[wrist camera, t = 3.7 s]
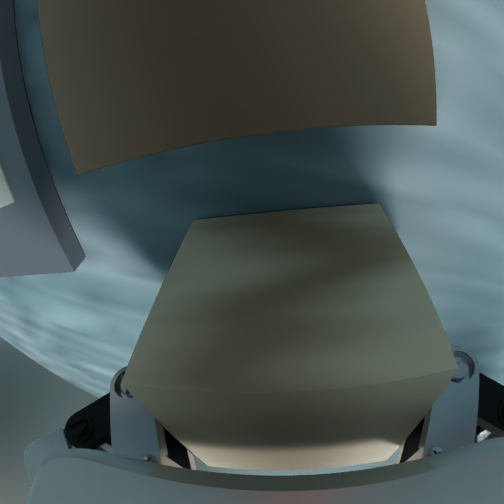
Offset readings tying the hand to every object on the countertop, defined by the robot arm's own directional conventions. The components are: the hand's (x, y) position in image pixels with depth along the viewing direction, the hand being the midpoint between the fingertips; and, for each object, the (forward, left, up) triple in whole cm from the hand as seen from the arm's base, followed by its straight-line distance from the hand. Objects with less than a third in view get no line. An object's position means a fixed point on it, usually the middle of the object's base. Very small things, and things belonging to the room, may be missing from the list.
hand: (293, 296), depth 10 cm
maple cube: (0, 0, -1) cm, 1 cm away
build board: (+13, -9, -1) cm, 16 cm away
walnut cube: (0, -9, -1) cm, 9 cm away
